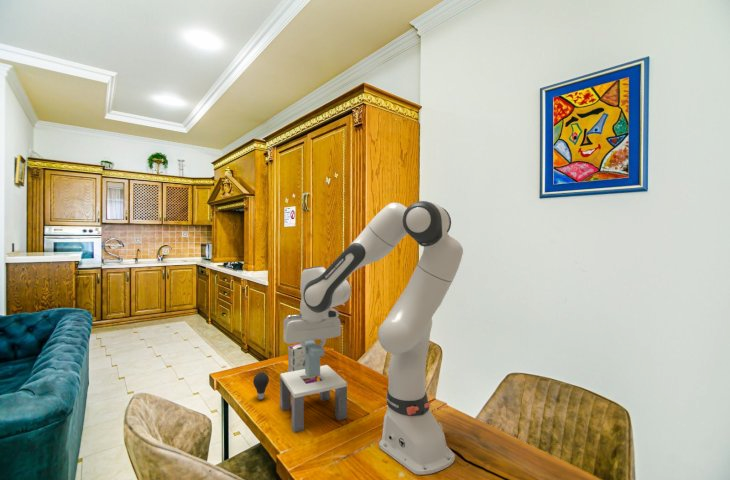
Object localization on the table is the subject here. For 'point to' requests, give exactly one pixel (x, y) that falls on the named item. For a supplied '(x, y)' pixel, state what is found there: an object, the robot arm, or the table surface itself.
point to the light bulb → (261, 384)
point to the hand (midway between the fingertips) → (312, 352)
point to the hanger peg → (313, 358)
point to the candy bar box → (298, 361)
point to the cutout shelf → (299, 389)
